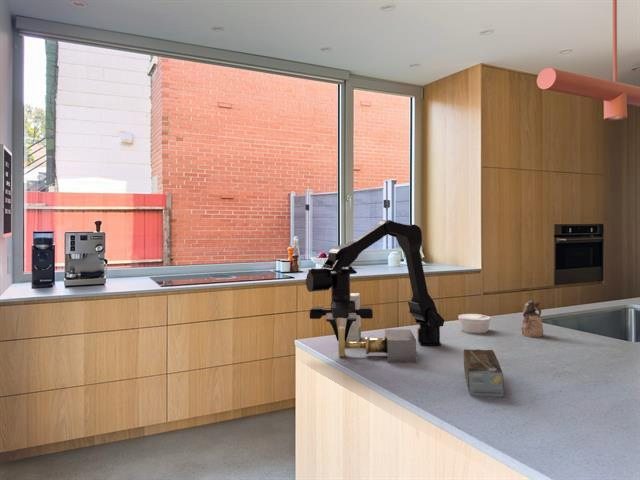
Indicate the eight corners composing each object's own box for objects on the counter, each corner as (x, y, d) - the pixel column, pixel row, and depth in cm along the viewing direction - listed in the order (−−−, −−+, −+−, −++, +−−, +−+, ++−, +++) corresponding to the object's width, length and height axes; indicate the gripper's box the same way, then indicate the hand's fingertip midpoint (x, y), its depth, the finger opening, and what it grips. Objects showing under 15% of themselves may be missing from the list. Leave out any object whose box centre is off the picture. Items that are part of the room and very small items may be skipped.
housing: (410, 349, 150) (410, 329, 150) (416, 362, 136) (416, 340, 136) (384, 349, 150) (384, 329, 150) (387, 362, 136) (387, 340, 136)
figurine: (525, 331, 171) (525, 298, 171) (546, 334, 166) (546, 300, 166) (517, 335, 166) (517, 300, 166) (538, 338, 161) (538, 303, 161)
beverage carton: (467, 396, 110) (467, 367, 109) (463, 371, 128) (462, 346, 128) (504, 398, 108) (504, 369, 107) (494, 373, 126) (494, 348, 126)
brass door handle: (386, 352, 146) (386, 326, 146) (387, 356, 141) (387, 329, 140) (339, 352, 147) (338, 326, 147) (338, 356, 142) (338, 330, 142)
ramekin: (495, 334, 169) (494, 319, 169) (463, 334, 169) (463, 319, 169) (484, 327, 180) (484, 313, 180) (454, 327, 180) (454, 313, 180)
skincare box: (358, 342, 160) (357, 296, 160) (339, 341, 162) (338, 295, 161) (361, 336, 169) (360, 292, 168) (342, 336, 170) (342, 292, 169)
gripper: (307, 293, 136) (308, 347, 137) (372, 292, 135) (373, 347, 135) (310, 288, 147) (311, 338, 148) (371, 287, 146) (372, 338, 147)
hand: (341, 340), depth 144 cm, fingers closed on brass door handle, 2 cm apart
